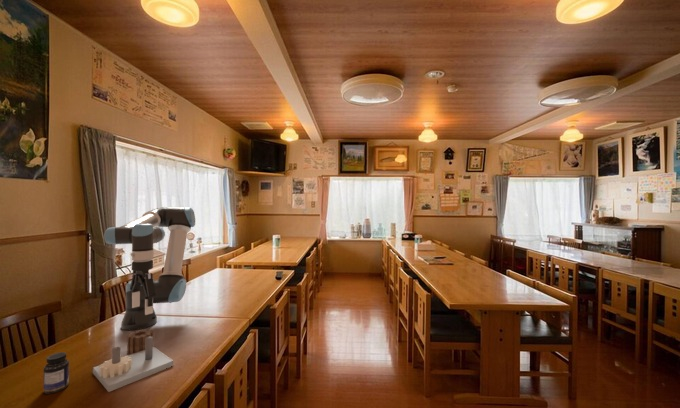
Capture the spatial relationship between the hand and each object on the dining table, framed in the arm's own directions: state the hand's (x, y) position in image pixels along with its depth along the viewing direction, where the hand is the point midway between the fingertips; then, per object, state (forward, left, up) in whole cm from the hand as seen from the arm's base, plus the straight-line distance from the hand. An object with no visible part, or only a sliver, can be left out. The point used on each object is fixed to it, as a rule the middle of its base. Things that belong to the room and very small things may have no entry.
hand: (142, 310), depth 124 cm
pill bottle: (+8, -28, -17) cm, 33 cm away
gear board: (+15, -8, -17) cm, 24 cm away
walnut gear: (0, -1, -17) cm, 17 cm away
